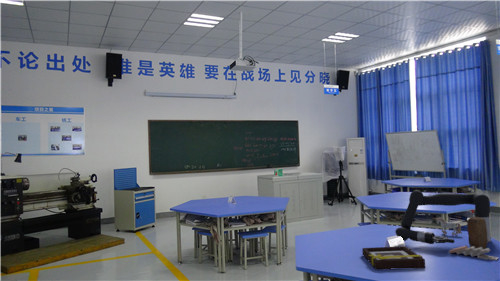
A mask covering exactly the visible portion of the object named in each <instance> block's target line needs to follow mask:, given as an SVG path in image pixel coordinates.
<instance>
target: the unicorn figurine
mask: <svg viewBox="0 0 500 281" xmlns="http://www.w3.org/2000/svg"><path fill="white" fill-rule="evenodd" d="M432 219H433V220H435V221H436V224H437V225H439V224H440V226H441V228H440V231H441V233H442V234H443V236H445V235H446V236H447V234H448V232H447V231H446V229H453V231H452V233H451V235H452V236H457V235H461V234H463V232H462V226H461V224H460V223H459V222H452V221H451V222H450V221H449V222H448V221H447V220H445V219H444V218H443V217H440V216H439V217H435V218H434V217H432Z"/></svg>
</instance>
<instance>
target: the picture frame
mask: <svg viewBox="0 0 500 281" xmlns="http://www.w3.org/2000/svg"><path fill="white" fill-rule="evenodd" d="M361 249H362V256H363V255H364V256H365V257H366V258H367V259H368V260H369V262H370V263H371V264H372V265H373V266H374V267H375V268H376V269H389V270H392V269H391V268H414V269H426V259H425V258H423V255H420V254H417V253H416V252H414V250H411V249H410V248H409V247H407V246H402V245H401V246H379V247H362V248H361ZM364 256H363V257H364ZM369 262H368V263H369ZM370 263H369V264H370ZM371 264H370V265H371ZM372 265H371V266H372ZM373 266H372V267H373ZM374 267H373V268H374ZM375 268H374V269H375ZM376 269H375V270H376Z"/></svg>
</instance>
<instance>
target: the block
mask: <svg viewBox="0 0 500 281" xmlns="http://www.w3.org/2000/svg"><path fill="white" fill-rule="evenodd" d="M466 226H467V228H466V229H467V235H468V244H469V246H470V247H473V246H474V247H475V248H480V247H482V248H483V249H486V248H487V245H488V243H489V242H487V228H486V221H485V219H483V218H480V217H474V216H472V217H470V218H468V220H467V223H466Z"/></svg>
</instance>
